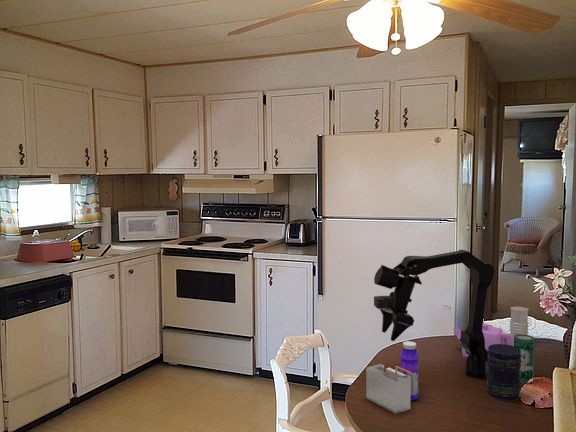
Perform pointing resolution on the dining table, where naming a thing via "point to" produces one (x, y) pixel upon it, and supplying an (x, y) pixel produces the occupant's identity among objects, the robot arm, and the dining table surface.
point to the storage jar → (503, 372)
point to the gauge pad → (396, 372)
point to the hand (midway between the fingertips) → (387, 336)
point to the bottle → (410, 366)
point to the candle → (519, 321)
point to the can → (525, 356)
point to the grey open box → (388, 389)
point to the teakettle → (489, 336)
